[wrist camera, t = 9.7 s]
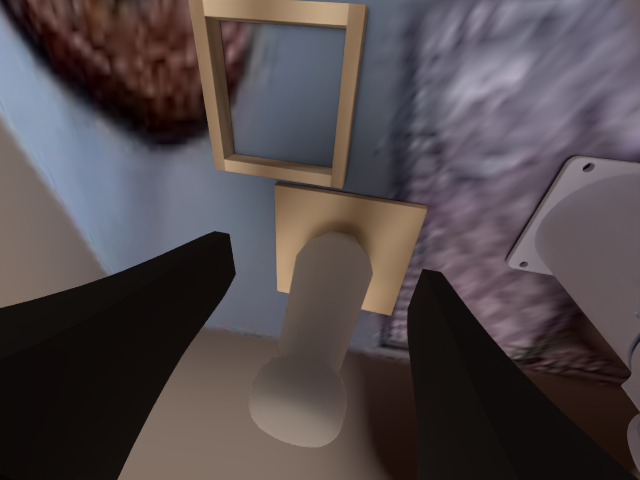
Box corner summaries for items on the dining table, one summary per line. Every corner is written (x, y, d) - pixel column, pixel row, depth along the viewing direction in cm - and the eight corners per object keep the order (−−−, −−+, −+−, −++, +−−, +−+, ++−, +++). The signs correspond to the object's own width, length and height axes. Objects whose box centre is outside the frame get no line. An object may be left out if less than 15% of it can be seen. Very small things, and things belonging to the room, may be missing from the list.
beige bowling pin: (344, 289, 23) (308, 472, 13) (291, 253, 22) (205, 419, 12) (389, 249, 20) (391, 451, 9) (330, 206, 19) (258, 376, 9)
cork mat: (426, 205, 18) (427, 209, 18) (390, 310, 24) (390, 315, 24) (277, 182, 20) (274, 185, 19) (279, 286, 26) (277, 290, 25)
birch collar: (368, 10, 13) (365, 4, 12) (345, 180, 18) (342, 188, 17) (204, 0, 15) (187, -6, 13) (226, 162, 20) (215, 169, 19)
